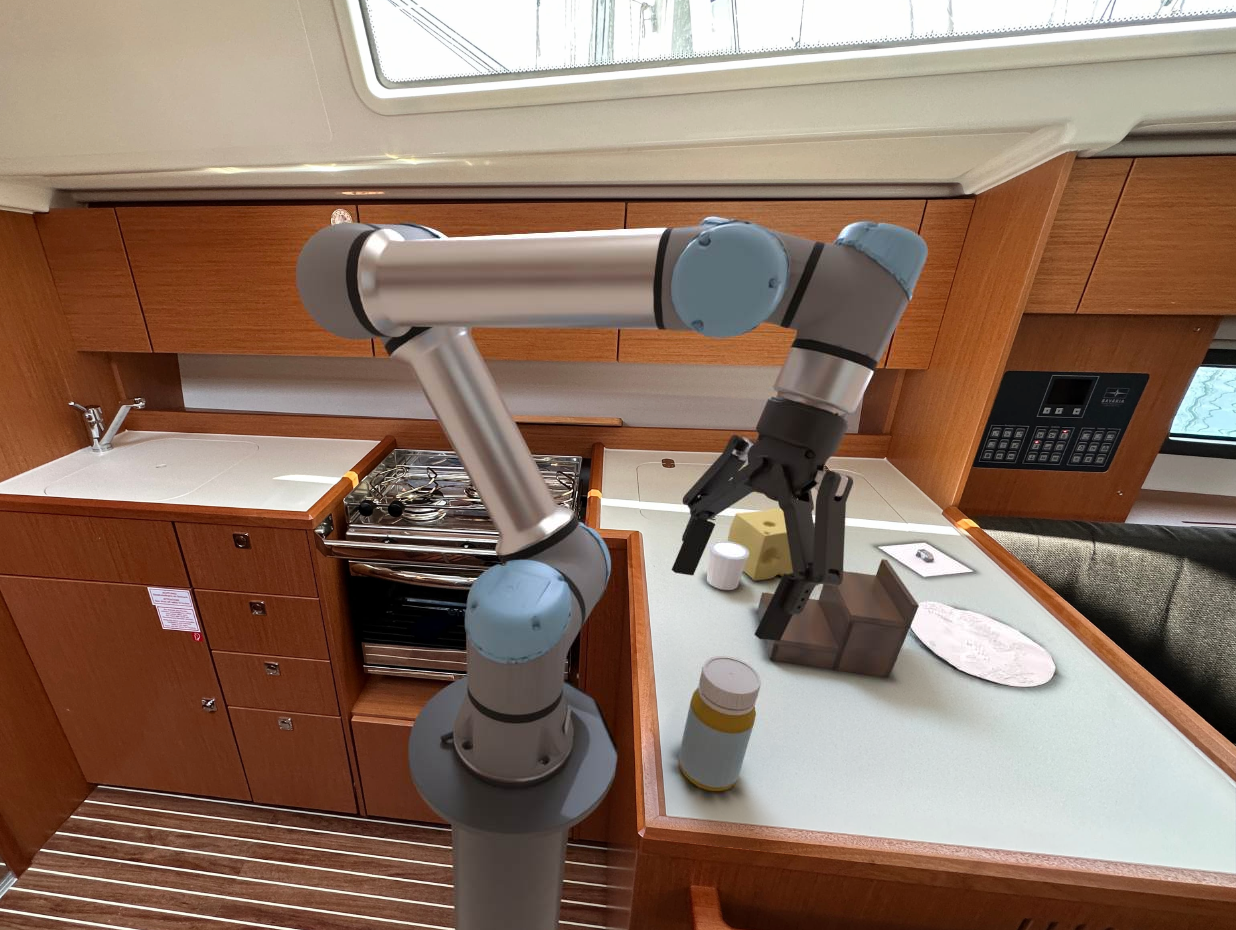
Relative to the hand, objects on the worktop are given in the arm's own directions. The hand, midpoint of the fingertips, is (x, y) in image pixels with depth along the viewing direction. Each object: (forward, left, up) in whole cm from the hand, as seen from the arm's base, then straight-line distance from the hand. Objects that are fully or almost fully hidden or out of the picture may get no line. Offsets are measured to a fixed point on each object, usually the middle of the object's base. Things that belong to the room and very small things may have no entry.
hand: (720, 602), depth 61 cm
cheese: (+17, +52, -24) cm, 60 cm away
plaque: (+48, +35, -24) cm, 64 cm away
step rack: (+23, +29, -23) cm, 44 cm away
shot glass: (+9, +44, -24) cm, 51 cm away
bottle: (+3, -1, -24) cm, 24 cm away
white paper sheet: (+51, +64, -24) cm, 85 cm away
